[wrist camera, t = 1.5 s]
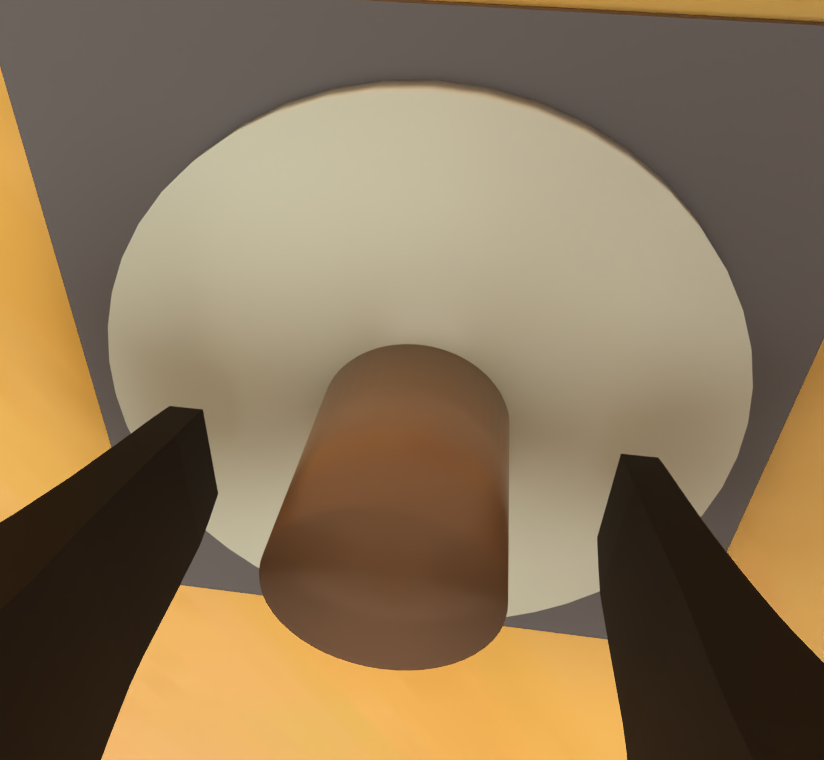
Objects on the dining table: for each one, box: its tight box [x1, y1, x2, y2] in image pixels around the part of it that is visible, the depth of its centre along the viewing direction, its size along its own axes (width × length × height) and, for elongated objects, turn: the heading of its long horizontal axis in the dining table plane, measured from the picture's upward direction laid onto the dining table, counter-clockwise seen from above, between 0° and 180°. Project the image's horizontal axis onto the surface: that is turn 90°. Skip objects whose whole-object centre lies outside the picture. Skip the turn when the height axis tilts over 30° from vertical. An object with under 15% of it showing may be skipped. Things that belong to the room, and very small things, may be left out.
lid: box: [108, 80, 753, 670], centre depth 12 cm, size 12×12×5 cm
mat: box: [0, 0, 824, 639], centre depth 14 cm, size 14×14×1 cm
